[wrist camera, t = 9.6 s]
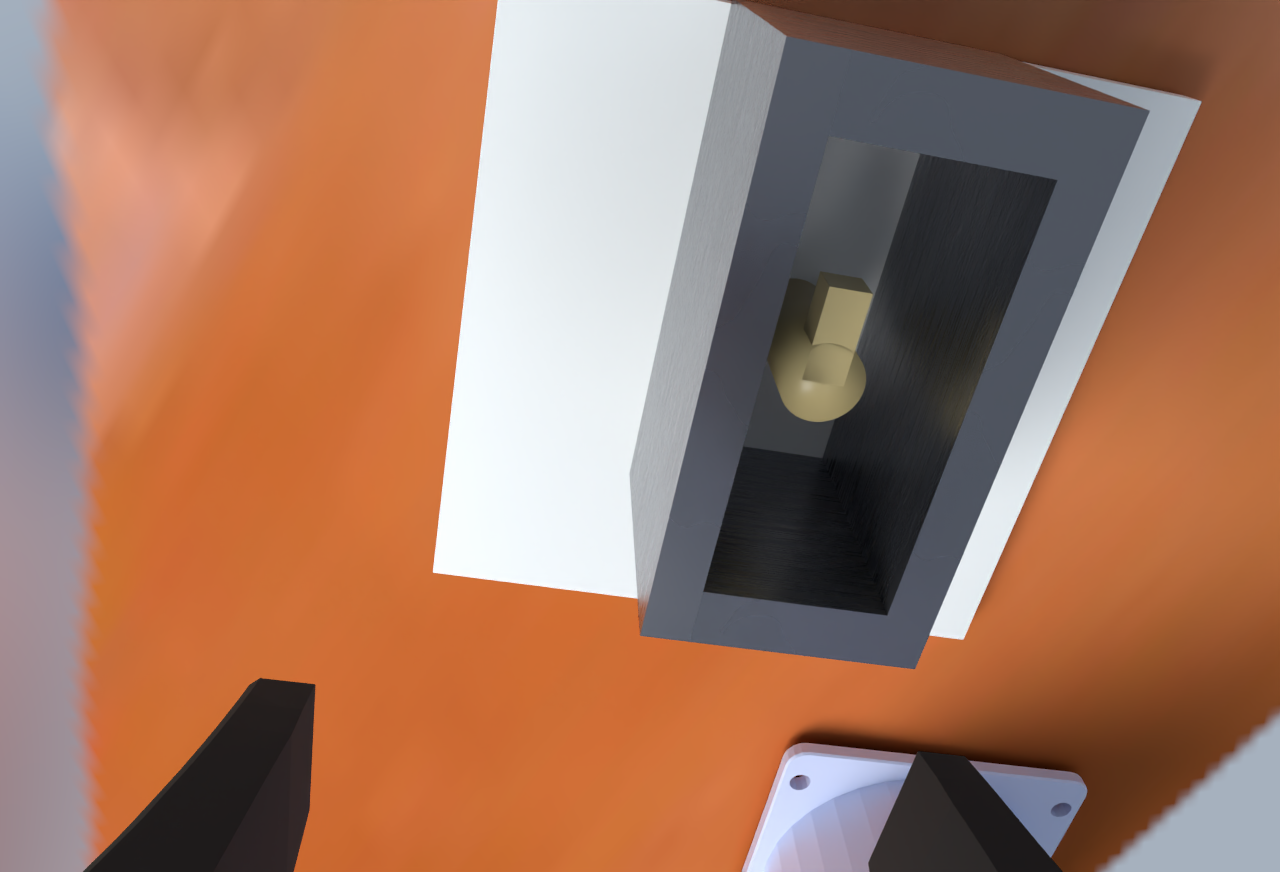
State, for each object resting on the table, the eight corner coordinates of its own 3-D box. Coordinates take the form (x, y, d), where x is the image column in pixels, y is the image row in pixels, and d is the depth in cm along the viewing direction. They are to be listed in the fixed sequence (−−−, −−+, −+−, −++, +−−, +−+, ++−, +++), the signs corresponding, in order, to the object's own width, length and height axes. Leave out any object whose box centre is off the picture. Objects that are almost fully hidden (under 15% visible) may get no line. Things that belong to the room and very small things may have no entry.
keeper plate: (954, 622, 23) (1012, 738, 20) (436, 555, 21) (409, 669, 18) (1183, 94, 17) (1313, 139, 14) (506, -46, 16) (484, -32, 13)
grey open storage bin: (846, 504, 21) (914, 669, 16) (629, 473, 20) (640, 635, 16) (1000, 53, 16) (1149, 110, 12) (732, -3, 16) (786, 36, 11)
